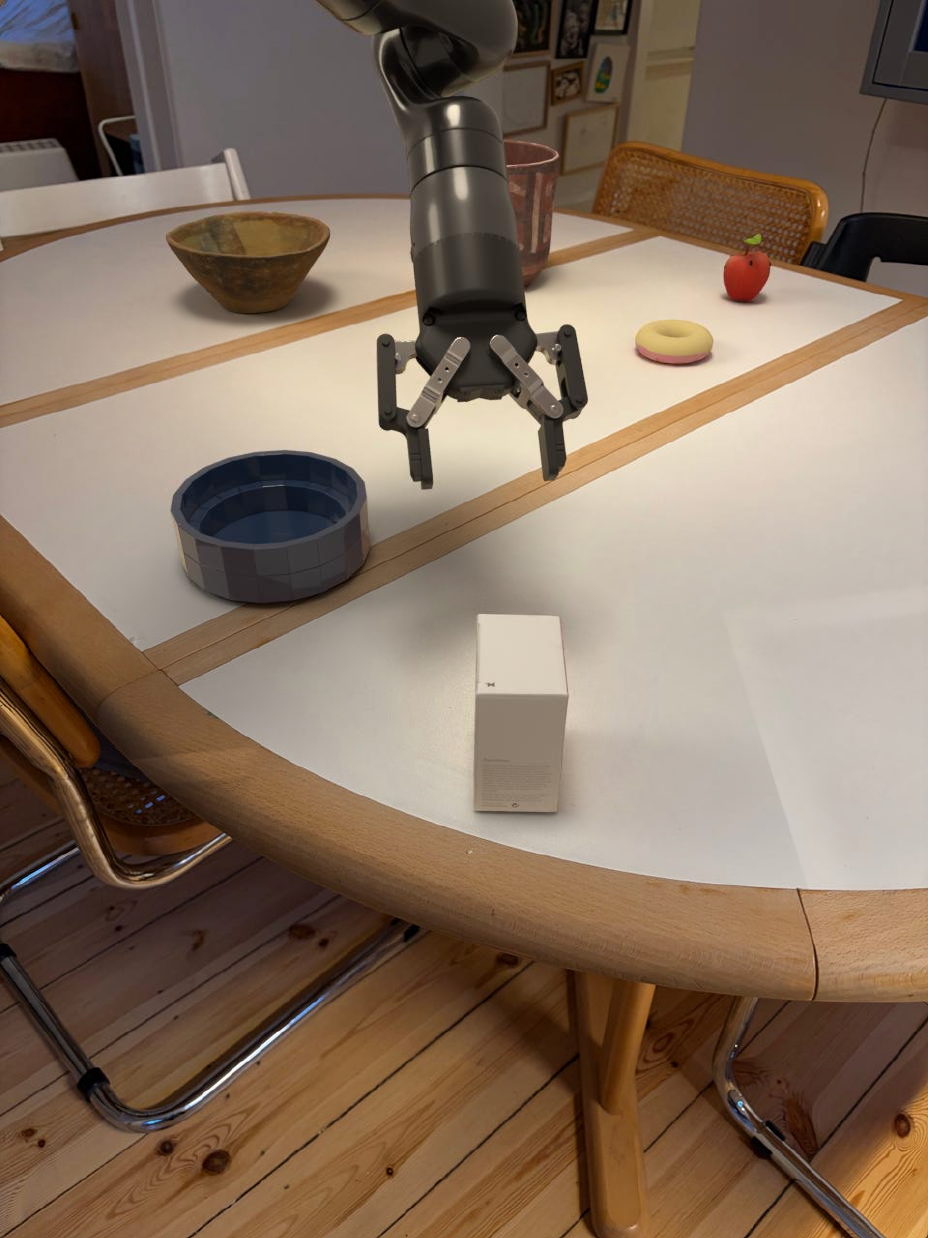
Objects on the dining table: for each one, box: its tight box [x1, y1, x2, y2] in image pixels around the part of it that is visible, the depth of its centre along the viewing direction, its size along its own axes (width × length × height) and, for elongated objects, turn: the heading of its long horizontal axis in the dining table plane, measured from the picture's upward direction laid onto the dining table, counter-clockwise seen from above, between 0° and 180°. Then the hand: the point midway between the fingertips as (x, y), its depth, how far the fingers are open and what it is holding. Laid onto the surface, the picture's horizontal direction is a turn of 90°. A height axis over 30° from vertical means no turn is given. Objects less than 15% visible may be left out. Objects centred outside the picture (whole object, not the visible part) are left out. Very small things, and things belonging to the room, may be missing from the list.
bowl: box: [165, 211, 331, 314], centre depth 132 cm, size 22×23×10 cm
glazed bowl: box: [169, 449, 371, 604], centre depth 83 cm, size 17×17×6 cm
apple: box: [722, 233, 772, 303], centre depth 135 cm, size 8×7×10 cm
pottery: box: [504, 139, 561, 288], centre depth 139 cm, size 18×18×18 cm
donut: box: [634, 319, 714, 365], centre depth 121 cm, size 10×5×9 cm
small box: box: [472, 613, 570, 813], centre depth 61 cm, size 8×6×10 cm
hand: (490, 482), depth 63 cm, fingers open, 8 cm apart
